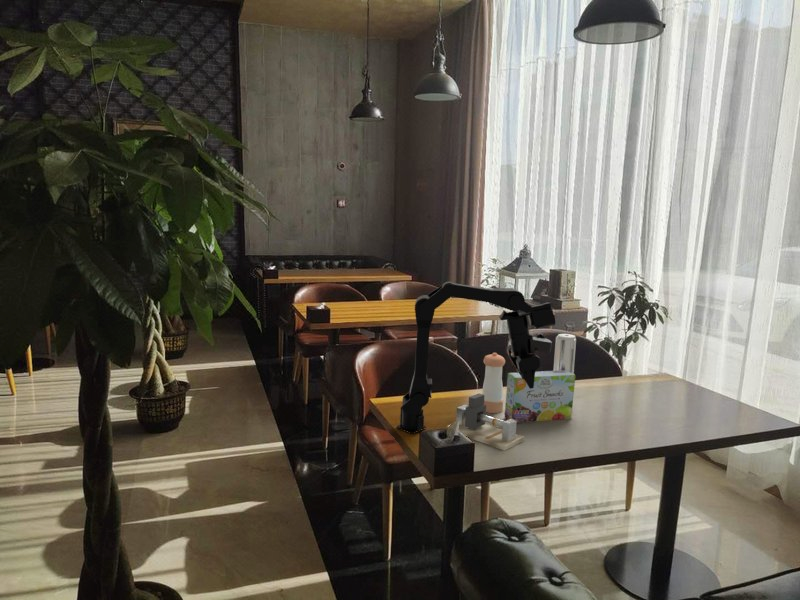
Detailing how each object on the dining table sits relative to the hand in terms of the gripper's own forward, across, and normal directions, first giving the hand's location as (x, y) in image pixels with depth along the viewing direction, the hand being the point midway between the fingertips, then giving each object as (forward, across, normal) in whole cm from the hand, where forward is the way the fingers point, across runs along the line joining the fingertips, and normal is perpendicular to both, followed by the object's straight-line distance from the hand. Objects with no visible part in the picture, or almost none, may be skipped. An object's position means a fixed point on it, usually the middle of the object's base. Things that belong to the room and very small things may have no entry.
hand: (528, 383), depth 164 cm
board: (+12, -2, +15) cm, 20 cm away
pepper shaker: (+13, +20, +10) cm, 26 cm away
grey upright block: (+10, 0, +17) cm, 20 cm away
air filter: (+19, +24, -13) cm, 33 cm away
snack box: (+17, +13, -3) cm, 21 cm away
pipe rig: (+11, -2, +15) cm, 19 cm away
